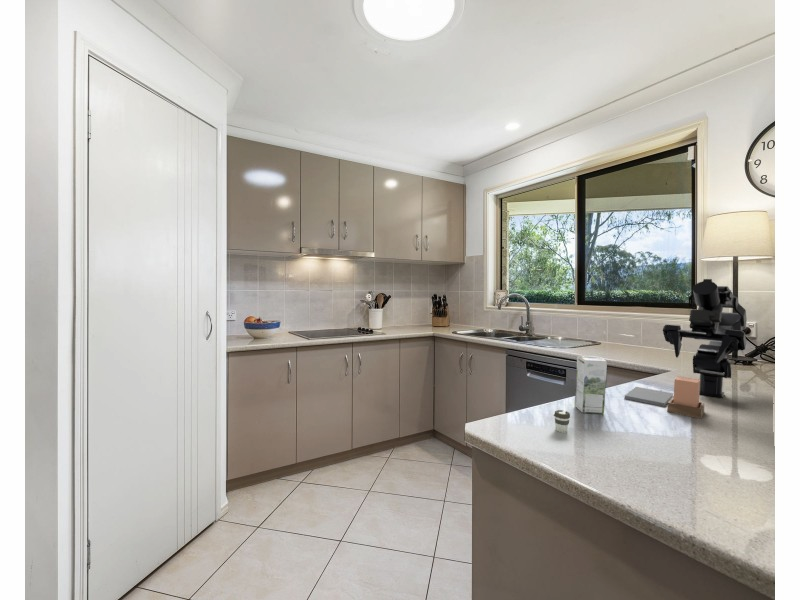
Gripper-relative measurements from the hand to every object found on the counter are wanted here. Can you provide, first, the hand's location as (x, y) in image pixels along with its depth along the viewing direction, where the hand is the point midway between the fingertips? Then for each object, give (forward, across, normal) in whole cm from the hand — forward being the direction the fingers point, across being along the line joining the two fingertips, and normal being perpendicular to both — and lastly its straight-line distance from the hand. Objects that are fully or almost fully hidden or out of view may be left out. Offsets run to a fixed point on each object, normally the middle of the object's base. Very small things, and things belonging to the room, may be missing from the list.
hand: (695, 359), depth 109 cm
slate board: (+10, -11, +9) cm, 17 cm away
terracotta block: (+15, 0, +4) cm, 15 cm away
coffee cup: (+44, -15, -23) cm, 52 cm away
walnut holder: (+15, 0, +4) cm, 15 cm away
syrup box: (+29, -17, -10) cm, 35 cm away
